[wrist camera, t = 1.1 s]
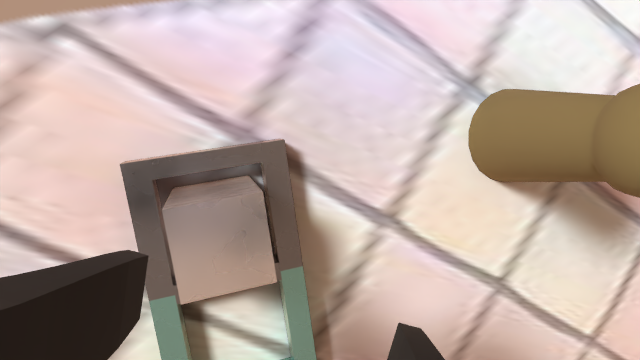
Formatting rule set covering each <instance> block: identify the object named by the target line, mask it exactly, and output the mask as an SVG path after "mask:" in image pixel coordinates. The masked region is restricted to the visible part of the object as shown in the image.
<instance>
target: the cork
mask: <svg viewBox="0 0 640 360" xmlns="http://www.w3.org/2000/svg"><path fill="white" fill-rule="evenodd" d="M469 149H470V152H471V156H472V159H473V161H474V163H475V164H476V166H477V167H478V169H479V170H480V171H481V172H482V173H483V174H485V175H486V176H487V177H489V178H490V179H494V180H497V181H501V182H607V183H608V184H609V185H610V186H612V187H613V188H614V189H616V190H619V191H621V192H623V193H625V194H629V195H632V196H635V197H639V198H640V84H638V85H635V86H632V87H630V88H628V89H626V90H623V91H621V92H619V93H618V94H617V95H616V96H615V95H599V94H583V93H567V92H551V91H536V90H520V89H505V90H501V91H498V92H496V93H494V94H491V95H490V96H489V97H488V98H487V99H485V100H484V101H483V102H482V103H481V104H480V106H479V107H478V109H477V111H476V112H475V114H474V115H473V118H472V121H471V125H470V128H469Z"/></svg>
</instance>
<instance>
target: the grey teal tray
mask: <svg viewBox="0 0 640 360" xmlns="http://www.w3.org/2000/svg"><path fill="white" fill-rule="evenodd" d="M255 163H260V164H261V170H262V177H263V183H264V189H265V196H266V202H267V208H268V215H269V221H270V227H271V234H272V240H273V247H274V253H275V254H274V255H273V259H274V265H275V272H276V278H277V281H279V285H280V291H281V298H282V304H283V310H284V317H285V323H286V329H287V336H288V342H289V349H290V355H291V357H289V358H285V359H282V360H316V353H315V346H314V339H313V333H312V326H311V319H310V312H309V305H308V298H307V291H306V285H305V278H304V271H303V264H302V257H301V250H300V243H299V237H298V230H297V223H296V216H295V209H294V202H293V196H292V189H291V182H290V175H289V168H288V161H287V154H286V148H285V141H284V139H274V140H267V141H260V142H254V143H247V144H240V145H233V146H227V147H220V148H213V149H206V150H199V151H193V152H186V153H179V154H172V155H166V156H159V157H152V158H145V159H138V160H132V161H125V162H123V163H121V164H120V167H121V172H122V176H123V181H124V186H125V190H126V195H127V200H128V204H129V209H130V214H131V218H132V223H133V228H134V232H135V237H136V242H137V247H138V251H139V253H141V254H145V255H149V257H148V264H147V271H146V278H145V284H146V289H147V293H148V298H149V303H150V307H151V312H152V317H153V322H154V326H155V331H156V336H157V340H158V345H159V350H160V354H161V359H162V360H192V357H191V352H190V347H189V342H188V337H187V332H186V327H185V322H184V317H183V312H182V307H181V303H180V298H179V293H178V288H177V283H176V278H175V273H174V268H173V263H172V258H171V253H170V248H169V243H168V238H167V233H166V228H165V223H164V218H163V213H162V208H161V203H160V198H159V193H158V188H157V183H156V179H162V178H168V177H174V176H181V175H187V174H193V173H199V172H206V171H212V170H218V169H224V168H230V167H237V166H243V165H249V164H255Z"/></svg>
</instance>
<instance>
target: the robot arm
mask: <svg viewBox="0 0 640 360" xmlns="http://www.w3.org/2000/svg"><path fill="white" fill-rule="evenodd" d="M148 257H149V255H145V254H141V253H138V252H134V251H130V250H125V251H118V252H113V253H108V254H104V255H100V256H96V257H92V258H88V259H84V260H80V261H75V262H71V263H67V264H63V265H59V266H55V267H50V268H46V269H41V270H36V271H32V272H27V273H22V274H18V275H13V276H8V277H2V278H0V360H108V358H109V357H110V356H111V355H112V354H113V353H114V352H115V351H116V350H117V349H118V348H119V346H120V345H121V344H122V342H123V341H124V340H125V338H126V337H127V336H128V334H129V333H130V332H131V330H132V329H133V327H134V326H135V325H136V323H137V322H138V320H139V319H140V313H141V306H142V299H143V292H144V285H145V278H146V271H147V264H148ZM387 360H445V359H444V358H443V357H442V355H441V354H440V353H439V351H438V350H437V349H436V347H435V346H434V345H433V343H432V342H431V341H430V339H429V338H428V337H427V335H426V334H425V333H424V332H423V331H422V329H420V328H417V327H413V326H409V325H406V324H402V323H398V327H397V330H396V333H395V336H394V339H393V343H392V346H391V349H390V352H389V356H388V359H387Z"/></svg>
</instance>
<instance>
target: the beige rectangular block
mask: <svg viewBox="0 0 640 360" xmlns="http://www.w3.org/2000/svg"><path fill="white" fill-rule="evenodd" d="M162 213H163V218H164V223H165V228H166V233H167V238H168V243H169V248H170V253H171V258H172V263H173V268H174V273H175V278H176V283H177V288H178V293H179V298H180V303H181V305H182V304H186V303H190V302H194V301H199V300H203V299H207V298H212V297H216V296H220V295H224V294H229V293H233V292H237V291H242V290H246V289H250V288H254V287H259V286H263V285H267V284H272V283H276V282H277V278H276V272H275V265H274V259H273V253H272V246H271V240H270V234H269V227H268V221H267V215H266V208H265V202H264V196H263V191H262V190H261V189H260V188H259V187H258V186H257V185H256V183H255V182H254V181H253V180H252V179H251V178H250V177H249V175H248V176H242V177H236V178H230V179H224V180H218V181H212V182H206V183H200V184H194V185H188V186H182V187H176V188H173V189H172V191H171V193H170V195H169V197H168V199H167V201H166V203H165V205H164V206H163V208H162Z"/></svg>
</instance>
